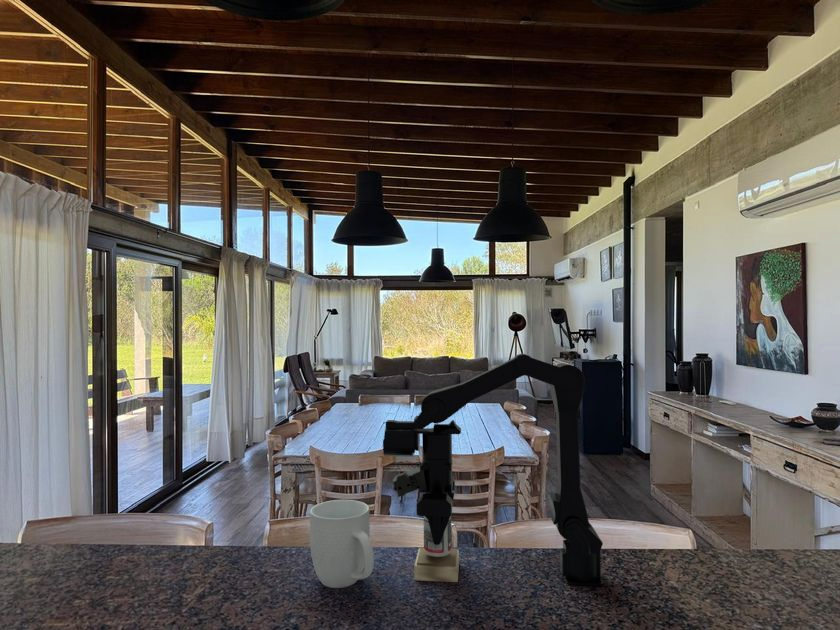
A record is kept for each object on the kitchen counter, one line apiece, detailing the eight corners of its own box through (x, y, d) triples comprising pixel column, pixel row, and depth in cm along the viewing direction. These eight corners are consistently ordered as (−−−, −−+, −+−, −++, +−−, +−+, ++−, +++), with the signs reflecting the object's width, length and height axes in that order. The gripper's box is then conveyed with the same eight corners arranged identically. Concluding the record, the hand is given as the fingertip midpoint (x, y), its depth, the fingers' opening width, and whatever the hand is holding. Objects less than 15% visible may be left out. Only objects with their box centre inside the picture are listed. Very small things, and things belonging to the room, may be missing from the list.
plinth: (458, 563, 102) (458, 547, 102) (457, 582, 94) (457, 565, 94) (418, 561, 102) (418, 546, 103) (414, 580, 95) (414, 563, 95)
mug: (395, 587, 92) (395, 513, 92) (344, 610, 84) (345, 529, 85) (346, 561, 102) (346, 495, 103) (297, 579, 95) (298, 508, 95)
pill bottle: (439, 543, 102) (438, 494, 102) (457, 552, 98) (457, 500, 98) (418, 551, 99) (417, 499, 99) (436, 560, 94) (435, 506, 95)
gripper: (402, 445, 109) (402, 520, 108) (388, 467, 91) (388, 557, 90) (454, 446, 108) (455, 521, 107) (451, 469, 89) (451, 560, 89)
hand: (437, 538), depth 98 cm, fingers closed on pill bottle, 5 cm apart
